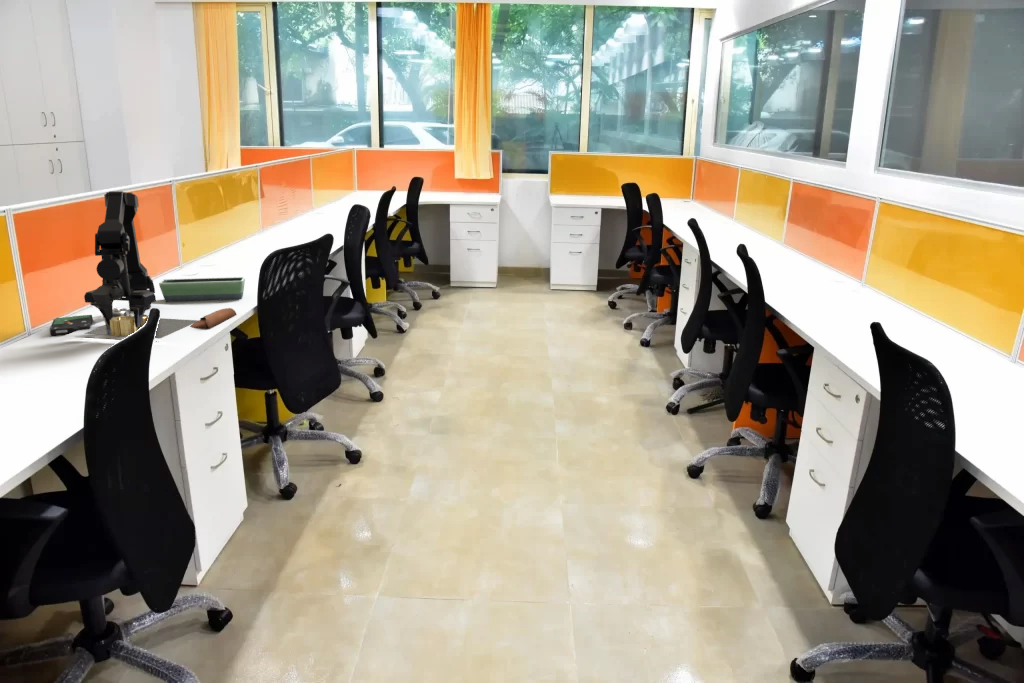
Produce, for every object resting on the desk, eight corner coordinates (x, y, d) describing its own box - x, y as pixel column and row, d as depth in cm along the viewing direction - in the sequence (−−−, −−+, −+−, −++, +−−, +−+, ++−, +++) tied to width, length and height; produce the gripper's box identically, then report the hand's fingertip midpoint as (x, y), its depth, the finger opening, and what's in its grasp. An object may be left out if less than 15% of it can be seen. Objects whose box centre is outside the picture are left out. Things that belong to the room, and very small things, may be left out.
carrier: (129, 320, 228) (127, 300, 226) (200, 324, 225) (198, 304, 223) (84, 337, 209) (81, 316, 207) (161, 342, 206) (158, 320, 204)
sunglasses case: (211, 316, 233) (220, 300, 231) (230, 328, 234) (239, 311, 232) (182, 332, 216) (191, 313, 214) (203, 344, 217) (212, 326, 215)
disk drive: (91, 335, 214) (93, 322, 227) (90, 325, 213) (91, 313, 226) (50, 338, 210) (54, 325, 222) (49, 329, 209) (53, 317, 221)
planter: (246, 296, 264) (245, 276, 261) (244, 300, 257) (242, 280, 255) (165, 299, 257) (162, 279, 255) (160, 303, 251) (158, 283, 249)
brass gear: (122, 329, 214) (120, 314, 212) (143, 330, 213) (141, 316, 211) (106, 335, 207) (104, 320, 206) (128, 337, 206) (126, 322, 205)
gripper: (66, 277, 199) (74, 331, 203) (128, 280, 196) (135, 335, 200) (94, 269, 209) (102, 321, 214) (153, 272, 207) (160, 325, 211)
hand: (124, 326), depth 209 cm, fingers open, 8 cm apart
